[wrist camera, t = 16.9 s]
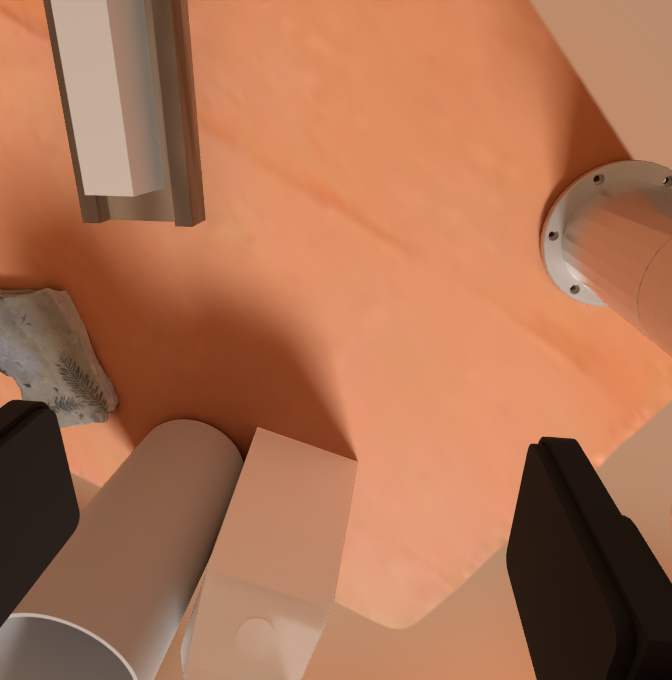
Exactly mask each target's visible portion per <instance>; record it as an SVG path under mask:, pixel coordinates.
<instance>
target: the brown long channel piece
mask: <svg viewBox="0 0 672 680" xmlns="http://www.w3.org/2000/svg"><path fill="white" fill-rule="evenodd" d="M43 1H44V7H45V12H46V18H47V24H48V29H49V35H50V40H51V46H52V51H53V57H54V63H55V68H56V74H57V79H58V85H59V90H60V96H61V101H62V107H63V113H64V118H65V124H66V129H67V135H68V140H69V146H70V152H71V157H72V163H73V168H74V174H75V179H76V185H77V191H78V196H79V202H80V207H81V213H82V218H83V223H101V222H104V221H107V220H110V219H117V220H142V221H168V222H175V226H185V227H193V226H194V225H196V224H198V223H200V222H202V221H204V220H205V209H204V197H203V185H202V173H201V161H200V149H199V137H198V125H197V113H196V101H195V89H194V77H193V65H192V53H191V41H190V28H189V16H188V4H187V0H144V9H145V18H146V27H147V35H148V44H149V53H150V62H151V70H152V79H153V88H154V97H155V105H156V114H157V123H158V132H159V140H160V149H161V158H162V167H163V175H164V184H165V188H163V189H159V190H155V191H152V192H148V193H145V194H141V195H137V196H134V197H132V196H101V195H85V192H84V187H83V181H82V175H81V170H80V164H79V158H78V153H77V147H76V141H75V136H74V130H73V124H72V119H71V113H70V107H69V102H68V96H67V91H66V85H65V79H64V74H63V68H62V62H61V57H60V51H59V45H58V40H57V34H56V28H55V23H54V17H53V11H52V6H51V0H43Z"/></svg>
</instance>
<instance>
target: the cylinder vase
mask: <svg viewBox="0 0 672 680" xmlns="http://www.w3.org/2000/svg"><path fill="white" fill-rule="evenodd" d="M243 465H244V463H243V460H242V457H241V455H240V453H239V451H238V449H237V448H236V446H235V445H234V443H233V442H232V441H231V440H230V439H229V438H228V437H227V436H226V435H225V434H223V433H222V432H221V431H219V430H218V429H216V428H214V427H212V426H210V425H208V424H206V423H203V422H200V421H195V420H188V419H178V420H172V421H168V422H165V423H162V424H160V425H158V426H157V427H155V428H154V429H153V430H151V431H150V432H149V433H148V434H147V436H146V437H145V438H144V439H143V440H142V441H141V443H140V444H139V445H138V446H137V447H136V448H135V450H134V451H133V452H132V453H131V454H130V455H129V457H128V458H127V459H126V460H125V461H124V462H123V464H122V465H121V466H120V467H119V468H118V469H117V471H116V472H115V473H114V474H113V475H112V476H111V478H110V479H109V480H108V481H107V482H106V483H105V485H104V486H103V487H102V488H101V489H100V490H99V492H98V493H97V494H96V495H95V496H94V497H93V498H92V500H91V501H90V502H89V503H88V504H87V506H86V507H85V508H84V509H83V510H82V511H81V513H80V519H79V523H78V526H77V528H76V530H75V532H74V533H73V535H72V536H71V537H70V538H69V540H68V541H67V542H66V544H65V545H64V546H63V548H62V549H61V550H60V551H59V553H58V554H57V555H56V557H55V558H54V559H53V560H52V562H51V563H50V564H49V566H48V567H47V568H46V570H45V571H44V572H43V573H42V575H41V576H40V577H39V579H38V580H37V581H36V582H35V584H34V585H33V586H32V588H31V589H30V590H29V592H28V593H27V594H26V595H25V597H24V598H23V599H22V601H21V602H20V603H19V605H18V606H17V607H16V608H15V610H14V611H13V612H12V614H11V615H10V616H9V617H8V619H7V620H6V621H5V623H4V624H3V625H2V627H1V628H0V680H154V678H155V675H156V673H157V671H158V669H159V667H160V665H161V662H162V660H163V658H164V656H165V654H166V651H167V649H168V647H169V645H170V643H171V641H172V639H173V636H174V634H175V632H176V630H177V628H178V626H179V624H180V621H181V619H182V617H183V615H184V613H185V610H186V608H187V606H188V604H189V602H190V600H191V598H192V595H193V593H194V591H195V589H196V587H197V585H198V582H199V580H200V578H201V576H202V574H203V572H204V569H205V567H206V565H207V563H208V561H209V559H210V556H211V554H212V552H213V549H214V546H215V544H216V541H217V538H218V535H219V532H220V530H221V527H222V524H223V521H224V518H225V516H226V513H227V510H228V507H229V504H230V502H231V499H232V496H233V493H234V491H235V488H236V485H237V482H238V479H239V477H240V474H241V471H242V468H243Z"/></svg>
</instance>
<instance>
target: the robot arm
mask: <svg viewBox="0 0 672 680" xmlns="http://www.w3.org/2000/svg"><path fill="white" fill-rule="evenodd" d="M595 176H598V179H597V180H596V181H595V182H594V181H593V179H594V177H595ZM665 178H666V182H665V183H663V180H664V179H665ZM552 231H553V235H552V236H550V237H549V233H550V232H552ZM540 251H541V257H542V263H543V265H544V268H545V270H546V273H547V275H548V276H549V277H550V279H551V280H552V282H553V283H554V284H555V285H556V286H557V287H558V288H559V289H560V290H561V291H562V292H563V293H564V294H566V295H567V296H568V297H570V298H572V299H574V300H576V301H578V302H581V303H583V304H587V305H592V306H598V307H610V308H612V309H613V310H614V311H615V312H616V313H618V314H619V315H620V316H621V317H623V318H624V319H625V320H626V321H627V322H629V323H630V324H631V325H632V326H634V327H635V328H636V329H637V330H638V331H640V332H641V333H642V334H643V335H644V336H646V337H647V338H648V339H649V340H651V341H652V342H653V343H655V344H656V345H657V346H658V347H660V348H661V349H662V350H663V351H665V352H666V353H667V354H668V355H670V356H671V357H672V170H670V169H669V168H667V167H664V166H662V165H659V164H656V163H653V162H647V161H638V160H624V161H618V162H611V163H608V164H605V165H602V166H600V167H597V168H594V169H593V170H591V171H589V172H587V173H585V174H583V175H582V176H580V177H579V178H578V179H576V180H575V181H574V182H573V183H571V184H570V185H569V186H568V187H567V188H566V189H565V190H564V191H563V192H562V193H561V194H560V196H559V197H558V198H557V199H556V201H555V203H554V204H553V206H552V207H551V209H550V210H549V213H548V215H547V217H546V219H545V222H544V225H543V229H542V233H541V243H540ZM573 285H574V288H573V289H570V288H571V287H572V286H573ZM79 519H80V513H79V508H78V504H77V499H76V495H75V491H74V487H73V482H72V478H71V474H70V470H69V465H68V461H67V457H66V453H65V449H64V444H63V440H62V436H61V432H60V427H59V423H58V419H57V416H56V413H55V412H54V411H53V410H51V409H50V408H49V406H48V405H47V404H46V403H44V402H42V401H28V400H12V401H10V402H8V403H6V404H5V405H4V406H2V407H1V408H0V628H1V627H2V625H3V624H4V623H5V621H6V620H7V619H8V617H9V616H10V615H11V614H12V612H13V611H14V610H15V608H16V607H17V606H18V605H19V603H20V602H21V601H22V599H23V598H24V597H25V595H26V594H27V593H28V592H29V590H30V589H31V588H32V586H33V585H34V584H35V582H36V581H37V580H38V579H39V577H40V576H41V575H42V573H43V572H44V571H45V570H46V568H47V567H48V566H49V564H50V563H51V562H52V560H53V559H54V558H55V557H56V555H57V554H58V553H59V551H60V550H61V549H62V548H63V546H64V545H65V544H66V542H67V541H68V540H69V538H70V537H71V536H72V535H73V533H74V532H75V530H76V528H77V526H78V523H79ZM670 525H671V531H672V505H671V511H670ZM506 561H507V569H508V574H509V577H510V582H511V585H512V589H513V593H514V597H515V600H516V604H517V608H518V611H519V615H520V619H521V623H522V626H523V630H524V634H525V637H526V641H527V645H528V648H529V652H530V656H531V660H532V663H533V667H534V671H535V674H536V678H537V680H672V583H671V582H670V580H669V579H668V577H667V575H666V574H665V572H664V570H663V569H662V567H661V566H660V564H659V562H658V561H657V559H656V558H655V556H654V554H653V553H652V551H651V549H650V548H649V546H648V545H647V543H646V541H645V540H644V538H643V537H642V535H641V533H640V532H639V530H638V528H637V527H636V525H635V524H634V523H633V522H632V520H631V519H630V518H628V517H626V516H624V515H621V513H620V511H619V510H618V508H617V507H616V505H615V503H614V502H613V500H612V498H611V496H610V495H609V493H608V491H607V490H606V488H605V486H604V485H603V483H602V481H601V480H600V478H599V476H598V475H597V473H596V471H595V470H594V468H593V466H592V465H591V463H590V461H589V460H588V458H587V456H586V455H585V453H584V451H583V450H582V448H581V446H580V445H579V443H578V442H577V441H576V440H575V439H570V438H556V437H542V438H541V439H540V441H539V443H538V444H530V446H529V448H528V452H527V456H526V461H525V466H524V471H523V476H522V480H521V485H520V490H519V495H518V499H517V504H516V509H515V514H514V519H513V523H512V528H511V533H510V538H509V542H508V548H507V554H506Z"/></svg>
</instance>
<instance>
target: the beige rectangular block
mask: <svg viewBox="0 0 672 680" xmlns="http://www.w3.org/2000/svg"><path fill="white" fill-rule="evenodd" d="M51 6H52V11H53V17H54V23H55V28H56V34H57V40H58V45H59V51H60V57H61V62H62V68H63V74H64V79H65V85H66V91H67V96H68V102H69V107H70V113H71V119H72V124H73V130H74V136H75V141H76V147H77V153H78V158H79V164H80V170H81V175H82V181H83V187H84V192H85V195H101V196H132V197H134V196H137V195H141V194H145V193H148V192H152V191H155V190H159V189H163V188H165V184H164V175H163V167H162V158H161V149H160V140H159V132H158V123H157V114H156V105H155V97H154V88H153V79H152V70H151V62H150V53H149V44H148V35H147V27H146V18H145V9H144V0H51Z"/></svg>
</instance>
